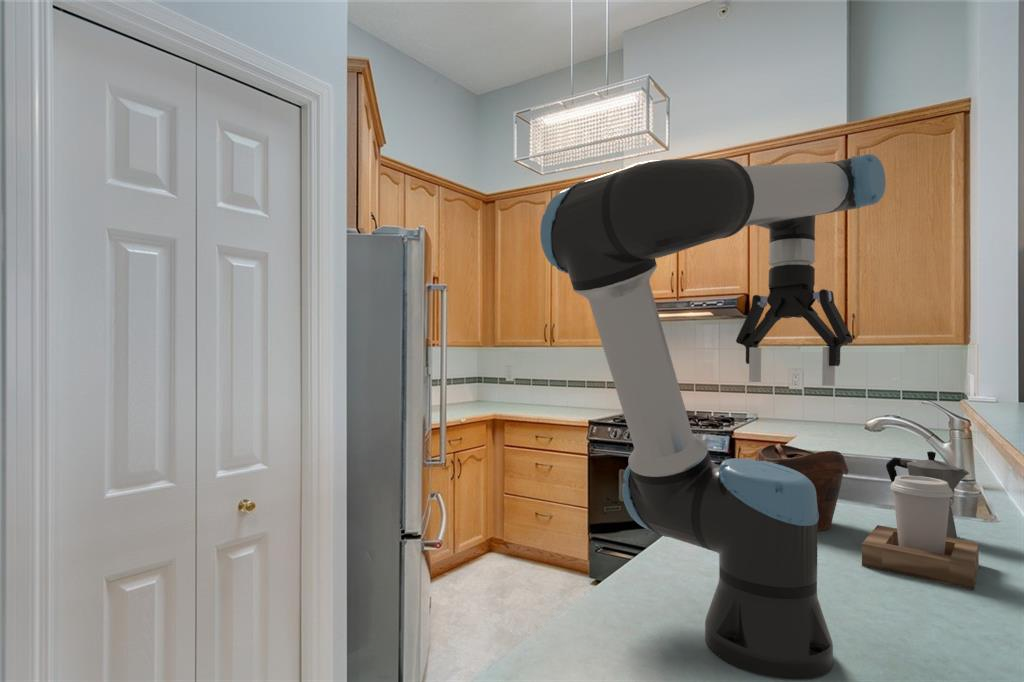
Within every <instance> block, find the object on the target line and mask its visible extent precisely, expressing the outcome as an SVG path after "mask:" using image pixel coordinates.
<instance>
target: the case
mask: <svg viewBox="0 0 1024 682" xmlns="http://www.w3.org/2000/svg"><path fill="white" fill-rule="evenodd" d="M754 460H756V461H765V462H770V463H774V464H778V465H782V466H785V467H788V468H791V469H793V470H796V471H798V472H800V473H802V474H803V475H805V476H806V477H807V478H808V479H809V480H810V481H811V482H812V483H813V485H814V487H815V489H816V497H817V508H818V512H819V520H818V531H826V530H829V529H830V528H831V526H832V523H833V519H834V516H835V511H836V507H837V503H838V499H839V494H840V492H841V491H840V490H841V486H842V481H843V476H844V475H848V474H849V471H850V470H849V468H848V466H847V463H846V461H845V457H844V455H843V454H842V453H841V452H840V451H836V450H825V451H819V452H813V451H810V450H807V449H802V448H798V447H795V446H791V445H786V444H782V443H779V442H778V443H776V444H769V445H765V446H764V447H763V448H760V450H759V451H758V452H757V453H756V455H755V459H754Z"/></svg>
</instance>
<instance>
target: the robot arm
mask: <svg viewBox="0 0 1024 682" xmlns="http://www.w3.org/2000/svg"><path fill="white" fill-rule="evenodd" d="M885 173H886V172H885V168H884V165H883V163H882V161H881V160H880V158H879V157H878V156H876V155H875V154H869V153H868V154H864V155H858V156H851V157H850V158H845V159H841V160H835V161H825V162H821V161H820V162H819V161H818V162H803V163H802V162H801V163H799V162H798V163H797V162H796V163H782V164H778V163H777V164H758V165H742V164H741V163H739V162H737V161H736V160H733V159H730V158H675V159H671V158H670V159H655V160H648V161H642V162H638V163H634V164H632V165H630V166H627V167H625V168H621V169H619V170H615V171H612V172H609V173H606V174H603V175H600V176H597V177H593V178H590V179H588V180H584V181H579V182H577V183H575V184H573V185H572V186H570V187H567V188H565V189H563V190H561V191H559V192H558V193H557V194H555V195H554V196H553V197H552V198H551V200H550V201H549V202H548V204H547V206H546V207H545V211H544V213H543V215H542V216H541V217H542V218H541V221H540V227H539V231H540V236H539V237H540V244H541V248H542V250H543V253H544V256H545V258H546V260H547V261H548V262H549V263H550V264H551V266H552V267H555V268H556V269H557V270H558V271H559V272H562V273H565V274H567V275H568V276H569V279H570V282H571V283H570V284H571V285H572V289H573V291H574V293H576V294H577V295H580V296H582V297H584V298H586V300H587V301H588V303H589V306H590V309H591V312H592V313H591V314H592V316H593V319H594V323H595V326H596V329H597V332H598V335H599V338H600V343H601V345H602V348H603V352H604V355H605V358H606V361H607V364H608V368H609V371H610V373H611V378H612V380H613V384H614V387H615V391H616V393H617V396H618V400H619V404H620V407H621V409H622V412H623V413H622V414H623V416H624V418H625V422H626V426H627V429H628V432H629V435H630V438H631V442H632V445H633V450H632V452H631V453H630V455H629V456H628V460H627V461H628V465H627V467H626V468H625V471H624V474H623V479H624V480H625V483H622V485H621V486H622V487H621V488H622V489H621V491H622V499H623V503H624V505H625V508H626V510H627V512H628V514H629V515H630V517H631V518H632V520H633V521H635V522H636V523H637V524H638V525H639V526H641V527H643V528H644V529H647V530H649V531H651V532H652V533H654V534H656V535H659V536H663V537H666V538H671V539H674V540H677V541H681V542H683V543H687V544H690V545H693V546H697V547H700V548H702V549H706V550H708V551H712V552H715V553H717V554H718V555H719V556H718V559H719V561H718V563H719V571H718V572H719V573H718V575H719V577H718V578H719V579H718V582H717V586H716V588H715V592H714V594H713V597H712V600H711V603H710V605H709V608H708V611H707V613H706V616H705V620H704V621H705V622H704V640H705V642H706V644H707V647H708V648H709V649H710V650H711V651H712V653H714V654H715V655H716V656H718V657H719V658H720V659H722V660H724V661H726V662H727V663H729V664H731V665H733V666H735V667H737V668H740V669H742V670H744V671H748V672H751V673H754V674H757V675H761V676H767V677H771V678H777V679H782V680H783V679H784V680H785V679H786V680H807V679H808V680H809V679H814V678H817V677H820V676H821V677H822V676H823V675H826V674H827V673H828V672H830V670H831V669H832V667H833V665H834V645H833V640H832V637H831V634H830V630H829V628H828V625H827V622H826V618H825V616H824V614H823V610H822V606H821V604H820V601H819V598H818V534H819V533H818V520H819V512H818V508H817V497H816V489H815V487H814V485H813V483H812V482H811V481H810V480H809V479H808V478H807V477H806V476H805V475H803V474H802V473H800V472H798V471H796V470H793V469H791V468H788V467H785V466H782V465H778V464H774V463H770V462H765V461H756V460H755V459H751V458H737V457H735V458H728V459H724V460H723V461H722V462H721V463H720V465H717V464H714V463H713V462H712V458H711V455H710V454H711V453H710V451H709V447H708V444H707V442H706V441H705V440H704V439H702V438H701V437H699V436H697V435H696V434H693V431H692V427H691V424H690V420H689V417H688V413H687V409H686V406H685V403H684V398H683V396H682V392H681V389H680V386H679V385H680V384H679V382H678V378H677V375H676V372H675V371H676V370H675V368H674V363H673V361H672V360H673V359H672V356H671V353H670V349H669V346H668V344H667V339H666V336H665V332H664V328H663V326H662V321H661V319H660V314H659V312H658V307H657V304H656V301H655V297H654V294H653V293H654V292H653V290H652V286H651V283H650V281H651V277H652V275H653V274H654V272H655V271H656V269H657V267H658V265H657V262H656V261H657V260H656V259H659V258H663V257H666V256H670V255H673V254H677V253H679V252H682V251H685V250H688V249H691V248H694V247H697V246H700V245H703V244H706V243H709V242H712V241H717V240H721V239H722V240H723V239H727V238H730V237H732V236H735V235H736V234H738V233H739V232H740V231H742V230H743V229H744V228H745V227H749V226H757V227H761V228H764V229H768V230H769V232H768V233H769V241H768V242H769V244H768V245H769V246H768V247H769V248H768V265H769V266H770V268H769V269H768V289H769V294H768V295H767V296H766V295H765V296H764V295H759V294H754V295H753V296H752V299H751V306H750V309H749V312H748V314H747V315H746V317H745V320H744V322H743V324H742V326H741V328H740V330H739V333H738V335H737V337H736V340H735V341H736V343H737V344H739V345H742V346H744V348H745V363H746V365H748V382H749V383H761V382H762V347H759V344H760V343H761V342H762V340H763V339H764V338H765V337H766V335H767V334H768V333H769V332H770V331H771V329H773V327H774V325H775V324H776V323H777V322H779V320H781V319H791V318H799V319H800V318H802V319H805V320H806V321H807V322H808V324H809V325H810V326H811V327H812V328H813V329H814V331H815V332H816V333H817V334H818V335H819V337H820V338H822V340H823V341H824V342H825V344H826V346H822V371H821V372H822V374H821V375H822V377H821V378H822V381H821V382H822V385H821V386H827V387H828V386H830V387H832V386H833V387H834V386H836V385H835V381H836V379H835V378H836V377H835V376H836V375H835V374H836V373H835V371H836V367H839V366H840V364H841V348H842V346H845V345H847V344H852V343H853V341H854V338H853V336H852V335H851V332H850V330H849V329H848V327H847V325H846V323H845V321H844V319H843V317H842V314H841V313H840V312H839V309H838V307H837V306H836V304H835V298H834V292H833V291H832V290H828V289H824V288H822V289H820V290H819V291H816V292H815V290H814V287H815V273H816V272H815V271H816V269H815V267H814V265H813V264H815V262H816V261H815V260H816V259H815V255H816V252H815V251H816V236H815V235H816V231H815V230H816V216H820V215H825V214H831V213H837V212H843V211H848V210H855V209H861V208H864V207H867V206H872V205H875V204H877V203H879V202H880V201H881V199H882V198H883V196H884V194H885V190H886V175H885ZM815 302H817V303H818V304H820V307H821V308H822V310H823V312H824V314H825V316H826V319H827V320H828V323H829V324H830V326H831V328H832V330H833V331H832V330H831V328H830V327H829V326H828V325H827V324H826V323H825V322H824V321H823V320H822V319H821V317H820V316H819V314H818V312H817V311H816V310H815V309H814V308H813V304H814V303H815ZM767 306H770V307H769V309H768V310H767V311H766V313H764V310H765V307H767ZM763 313H764V317H763V318H762V320H761V317H762V315H763ZM760 320H761V321H760Z"/></svg>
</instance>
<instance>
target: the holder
mask: <svg viewBox="0 0 1024 682" xmlns="http://www.w3.org/2000/svg"><path fill="white" fill-rule="evenodd" d="M861 566H862V567H866V568H870V569H875V570H879V571H884V572H889V573H894V574H898V575H903V576H907V577H912V578H916V579H920V580H926V581H930V582H936V583H940V584H944V585H948V586H953V587H957V588H958V587H959V588H962V589H967V590H971V591H975V588H976V587H975V585H976V582H977V581H976V580H977V577H978V576H977V575H978V570H979V542H977V541H972V540H964V539H958V538H957V539H955V538H949V537H946V544H945V554H944V555H943V554H938V553H933V552H928V551H922V550H917V549H912V548H907V547H901V546H899V543H898V533H897V527H896V528H895V527H891V526H885V525H880V524H877V525H876V526H875V527H874V528H873V530H872V531H871V532H870V533H869V534H868V536H867V537H866V538H865V539H864V540H863V541H862V543H861Z"/></svg>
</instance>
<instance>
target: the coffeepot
mask: <svg viewBox="0 0 1024 682" xmlns="http://www.w3.org/2000/svg"><path fill="white" fill-rule="evenodd" d="M926 453H927V454H926V455H927V458H928V459H921V460H912V459H906V458H902V457H892V458H891V459H890V460H888V462H887V463H886V464H885V469H886V471H887V473H888V476H889V480H890V482H891V483H892V482H893V481H894V480H895V477H896V476H898V474H897V469H896V467H900V468H902V469H907V470H908V471H907V472H908V476H922V477H929V478H935V479H940V480H943V481H946V482H947V483H948V485H949V488H951V489H952V492H953V494H955V489H956V488H957V486H958V485H959V483H960V482H961V481H962V480H963V478H965V477H966V476H968V475H970V472H969V471H968V470H965V469H963V468H961V467H958V466H956V465H952V464H949V463H945V462H942V461H939V460H936V456H937V455H936V454H937V452H935V451H931V450H930V451H927V452H926ZM953 498H954V496H953V497H950V505H949V514H948V524H947V534H946V537H949V538H955V539H958V535H957V534H958V533H957V529H956V524H955V517H954V513H953V509H952V500H953Z"/></svg>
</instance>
